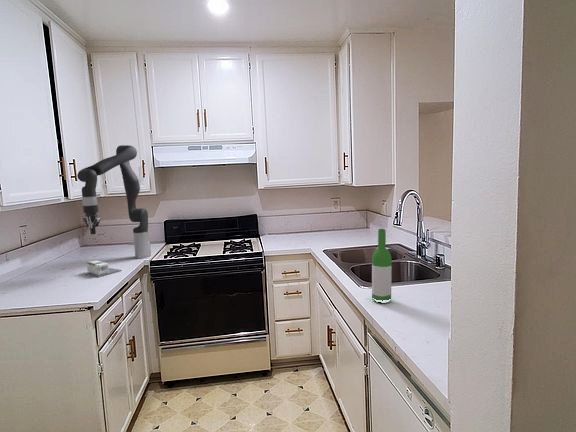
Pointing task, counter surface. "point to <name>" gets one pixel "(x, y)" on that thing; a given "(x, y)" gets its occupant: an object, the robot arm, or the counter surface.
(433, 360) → the counter surface
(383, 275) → the wine bottle
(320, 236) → the counter surface
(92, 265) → the syrup box
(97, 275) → the mat
